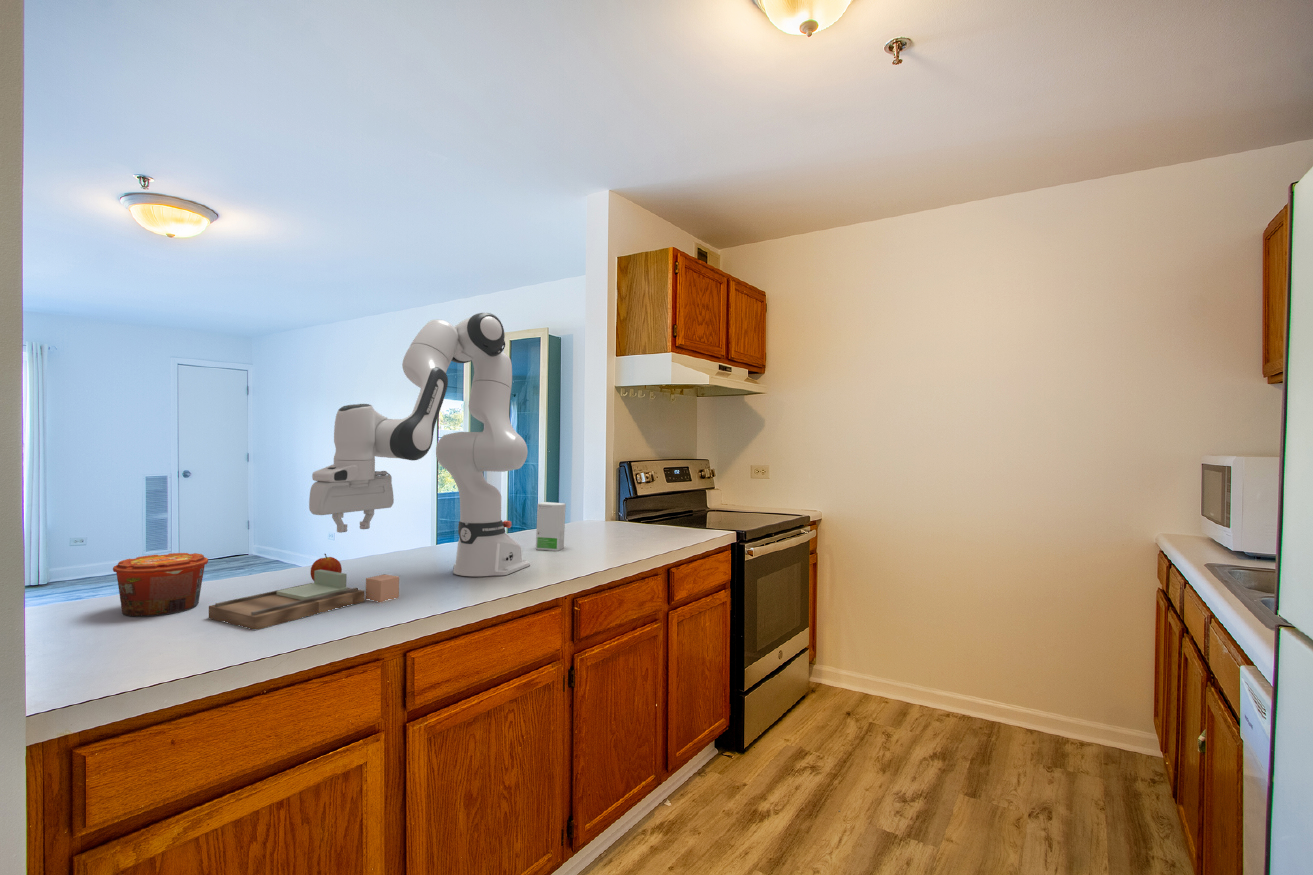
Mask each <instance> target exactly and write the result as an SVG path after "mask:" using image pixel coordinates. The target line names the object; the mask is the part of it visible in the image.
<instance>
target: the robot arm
mask: <svg viewBox="0 0 1313 875" xmlns="http://www.w3.org/2000/svg"><path fill="white" fill-rule="evenodd" d="M505 337H506V334H505V329H504V326H503V323H502V322H501V319H500V318H499V317H498V316H496V315H495V314H493V313H491V312H479V313H475V314H473V315H472V316H471V317H468V318H466V319H464V320H462V321H460V322H458V324H456V325H455V326H454V325H452V324H451V323H449V322H448V321H446V320H443V319H432V320H430V321H428V322H427V323H426V324H425V325H424V326H423V327H422V328H420V331H419V332H418V333H417V334H416V336H415V337H414V338H413V340H412V342H411V343H410V345H409V347H408V349H407V350H406V352H405V355H404V356H403V360H402V363H401V364H402V370H403V373H404V375H405V377H406V378H407V379H408V380H409V381H410V382H412V384H414V385H415V386H416V387H418V388H420V392H419V393H418V396H417V398H416V399H417V400H416V401H415V404H414V407H413V410H412V412H411V414H409V415H408V416H406V417H404V418H402V419H401V418H397V419H396V418H394V419H393V418H388V417H387V416H384V415H382V414H380V413H379V412H378V411H377V410H375V409H374V406H373V405H371V404H370V403H357V404H347V405H343V406H341V407H339V409H338V410H337V413H336V416H335V421H334V427H333V428H334V429H333V443H334V447H335V452H334V455H333V464H331V465H328V466H325V467H322V468H321V469H317V470H315V471H313V472H312V475H311V477H312V481H314V483H312V485H311V487H310V491H309V500H308V508H309V512H310V513H311V514H312V515H315V516H327V515H328V516H329V515H331V518H332V520H333V522H334V523H335V525H336V533H341V534H342V533H346V532H348V524H346V523H344V521H343V519H342V518H344V515H345V513H346V514H347V513H355V512H363V515H364V516H363V519H362V520H361V521H359V529H360V530H369V529H370V527H371V526H370V525H371V521H372V519H373V517H374V515H375V510H381V509H389V508H392V507H393V505H394V500H395V499H394V490H393V483H392V481H393V480H392V479H393V478H392V475H391V474H390V473H389V472H388V471H387V470H380V471H379V470H376V458H375V457H377V458H389V459H402V460H408V461H419V460H422V458H424V457H425V456H426V455H427V454H428V453H429V451H430V450H431V448H432V445H433V440H434V431H435V427H436V423H437V420H438V418H439V414H440V411H441V408H442V405H443V403H444V399H445V397H446V393H447V390H448V385H449V384H448V383H449V378H448V376H447V370H448V369H449V367H450V364H452V363H451V362H453V363H456V364H467V363H469V362H472V365H473V372H474V373H473V378H472V382H471V388H470V389H471V390H470V394H469V401H468V411H469V413H470V415H471V416H472V417H473V418H474V419H476V420H477V421H479V422H481V423H482V424H483V430H482V431H474V432H473V431H457V432H452V433H447V434H443V436H441V437H440V439H439V440H438V442H437V444H436V447H435V455H436V456H435V457H436V459H437V461H438V463H439V464H440V466H441V467H442V468H444V469H445V470H446V471H447V472H448V473H449V474H450V476H451V477H452V479H453V480H454V482H455V484H456V487H457V490H458V495H459V511H460V512H459V515H460V516H459V518H460V520H459V521H458V526H457V530H458V531H457V534H458V536H459V539H458V542H457V547H456V548H457V549H456V555H455V563H454V564H453V571H452V573H453V574H454V575H457V576H462V577H489V576H490V577H491V576H508V575H509V574H510V575H511V574H512V573H515V572H517V571H520V570H523V569H525V568H527V567H529V566H531V562H530V561H529V560H525V559H523V558H522V555H523V554H522V548H521V545H520V544H519V543H518V542H516V540H514V539H513V538H512V537H511V536H509V534H507V533H506V528H507V529H510V528H511V527H512V526H513V524H512V521H510V520H504V521H503V519H502V494H501V492H500V491H499V489H498V488H497V487H495V486H493V485H492V484H490V483H488V482H487V480H486V478H485V476H484V472H494V473H495V472H497V473H498V472H499V473H500V472H501V473H502V472H503V473H505V472H510V471H515V470H519V469H521V468H522V467H523V465H524V464H525V463H526V460H527V457H528V452H529V450H528V446H527V443H526V441H525V439H524V437H522V436H521V435H520V434H519V433H518V432H516V430H515V429H514V427H513V425H512V423H511V419H510V402H511V393H512V385H513V384H512V383H513V366H512V360H511V358H510V357H509V355H507V354H506V353H505V352H503V351H504V350H505V347H506V341H505ZM375 470H376V471H375Z"/></svg>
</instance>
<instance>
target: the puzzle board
mask: <svg viewBox="0 0 1313 875" xmlns="http://www.w3.org/2000/svg"><path fill="white" fill-rule="evenodd" d="M313 583H314V582H310V583H306V584H300V585H297V586H295V585H294V586H291V587H287V588H281V589H277V590H272V591H269V592H263V593H259V594H253V595H249V596H245V597H240V598H235V599H229V600H224V601H221V602H215V603H214V604H212V605H208V619H209V618H210V619H209V620H213V621H218V622H221V621H225V622H228V623H227V624H229V623H230V624H229V625H233V624H234V625H233V626H237V625H240V626H243V627H242V628H244V627H247V628H246V629H248V628H250V629H249V630H252V629H258V630H261V628H262V629H265V627H266V628H269V627H268V626H270V627H273V626H272V625H274V626H277V625H280V624H284V623H288V621H289V622H292V621H297V620H299V619H300V618H301V619H303V618H302V617H304V618H306V617H305V616H308V617H311V615H312V616H315V615H314V614H316V615H318V614H317V613H320V612H324V613H327V612H329V611H328V610H331V611H333V610H332V609H335V608H339V609H342V608H341V607H343V606H347V605H351V604H354V605H358V604H361V602H362V603H365V590H363V589H362V590H361V589H359V587H352V588H351V587H348V589H347V590H343V591H339V592H335V593H330V594H326V595H322V596H317V597H313V598H309V599H305V600H299V599H294V598H289V597H284V596H280V595H276V594H277V591H280V590H285V589H289V588H294V587H299V586H303V585H308V584H313ZM351 606H352V605H351ZM347 607H348V606H347ZM343 608H344V607H343ZM335 610H336V609H335ZM326 611H327V612H326ZM320 614H321V613H320ZM296 619H297V620H296ZM301 619H300V620H301ZM225 622H224V623H225ZM240 626H239V627H240Z"/></svg>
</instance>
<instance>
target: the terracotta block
mask: <svg viewBox="0 0 1313 875" xmlns="http://www.w3.org/2000/svg"><path fill="white" fill-rule="evenodd" d="M398 597H399V598H400V576H397V575H390V574H379V575H375V576H370V577H367V578H365V600H366V599H370V600H374V601H373V602H375V601H378V602H377V603H380V602H381V603H384V602H383V601H385V600H388V599H392V600H395V599H394V598H396V599H399V598H398ZM385 602H386V601H385Z"/></svg>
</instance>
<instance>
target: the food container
mask: <svg viewBox="0 0 1313 875" xmlns="http://www.w3.org/2000/svg"><path fill="white" fill-rule="evenodd" d="M208 563H209V558H208V557H205V555H204V554H202V553H196V552H194V553H189V552H176V553H175V552H172V553H167V554H150V555H141V556H136V557H135V558H125V559H123V560H119V561H118V563H117V564H116V565H114V566H113V567H112V571H113V572H114V573H116V578H117V579H116V580H117V585H118V593H119V599H120V606H121V612H122V613H121V614H122V615H123V616H127V617H136V618H137V617H139V618H143V617H154V616H155V617H156V616H164V615H165V616H166V615H172V614H177V613H181V612H185V611H189V610H191V609H194V608H196V606H197V605H199V602H200V595H201V590H202V584H203V583H202V582H203V578H204V577H203V576H204V573H205V572H204V571H205V565H208Z"/></svg>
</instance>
